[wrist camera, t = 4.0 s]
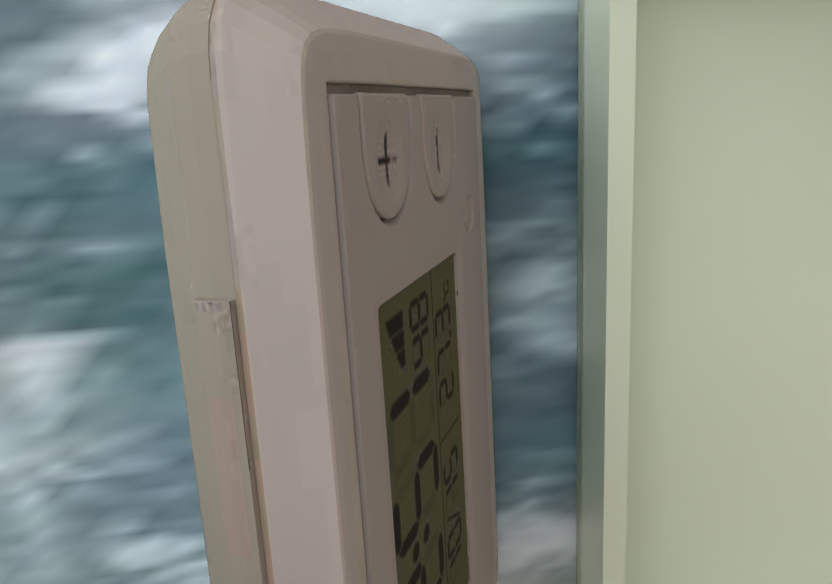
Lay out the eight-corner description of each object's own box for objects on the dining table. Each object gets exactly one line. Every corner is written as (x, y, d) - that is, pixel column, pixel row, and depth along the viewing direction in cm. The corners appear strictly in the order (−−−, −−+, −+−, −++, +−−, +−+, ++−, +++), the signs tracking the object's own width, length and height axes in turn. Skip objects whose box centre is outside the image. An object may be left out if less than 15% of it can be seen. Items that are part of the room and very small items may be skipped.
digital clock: (481, 604, 23) (559, 995, 13) (186, 575, 23) (20, 961, 12) (579, 63, 20) (797, 3, 9) (234, 10, 19) (57, -118, 9)
